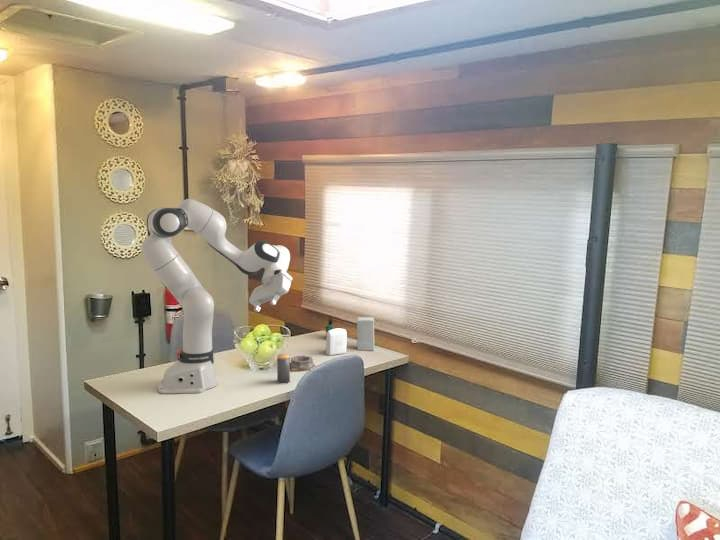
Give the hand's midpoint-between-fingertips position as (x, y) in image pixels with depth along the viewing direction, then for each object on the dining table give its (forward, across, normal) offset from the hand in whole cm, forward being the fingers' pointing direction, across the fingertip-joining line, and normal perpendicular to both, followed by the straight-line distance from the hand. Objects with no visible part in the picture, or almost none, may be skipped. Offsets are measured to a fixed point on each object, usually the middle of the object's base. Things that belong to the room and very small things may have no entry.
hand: (264, 307), depth 213 cm
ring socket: (+3, -15, +38) cm, 41 cm away
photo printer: (-14, -16, +57) cm, 61 cm away
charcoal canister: (+18, -9, +25) cm, 32 cm away
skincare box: (-22, -9, +70) cm, 74 cm away
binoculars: (-34, -32, +68) cm, 82 cm away
